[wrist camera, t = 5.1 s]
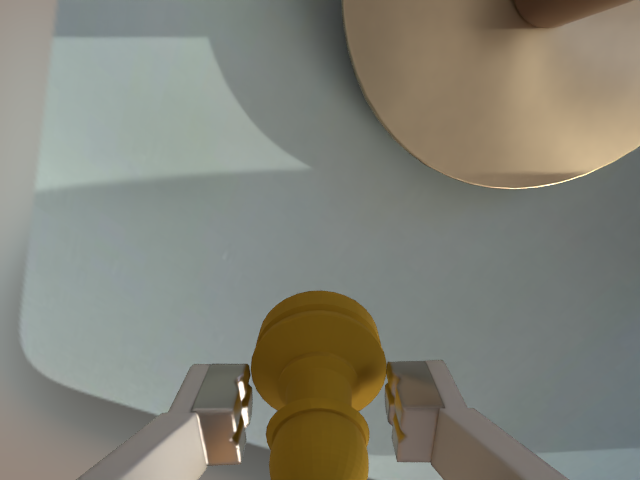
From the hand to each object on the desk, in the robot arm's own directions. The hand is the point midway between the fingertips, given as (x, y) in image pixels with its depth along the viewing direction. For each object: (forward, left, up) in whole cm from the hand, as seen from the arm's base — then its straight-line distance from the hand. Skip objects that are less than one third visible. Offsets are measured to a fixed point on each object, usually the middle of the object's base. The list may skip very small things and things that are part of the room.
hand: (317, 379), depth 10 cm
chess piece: (0, 0, -2) cm, 2 cm away
